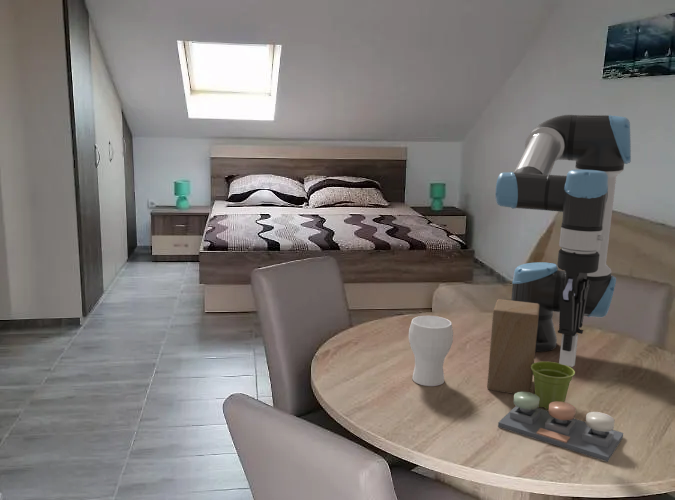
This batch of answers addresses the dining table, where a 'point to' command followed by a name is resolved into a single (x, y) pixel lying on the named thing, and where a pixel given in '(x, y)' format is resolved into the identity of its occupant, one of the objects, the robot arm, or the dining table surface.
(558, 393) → the plant pot
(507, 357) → the wooden block
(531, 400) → the button sage
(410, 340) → the cup
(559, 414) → the button terracotta
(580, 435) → the console
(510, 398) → the dining table surface
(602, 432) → the button cream
